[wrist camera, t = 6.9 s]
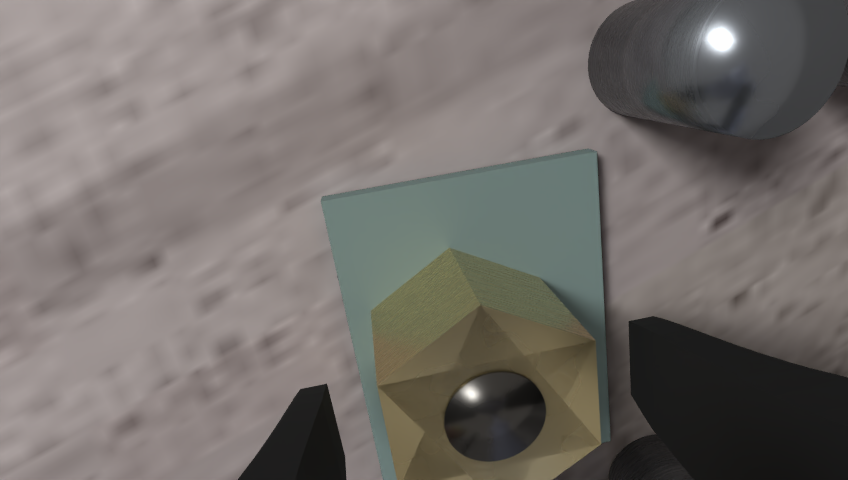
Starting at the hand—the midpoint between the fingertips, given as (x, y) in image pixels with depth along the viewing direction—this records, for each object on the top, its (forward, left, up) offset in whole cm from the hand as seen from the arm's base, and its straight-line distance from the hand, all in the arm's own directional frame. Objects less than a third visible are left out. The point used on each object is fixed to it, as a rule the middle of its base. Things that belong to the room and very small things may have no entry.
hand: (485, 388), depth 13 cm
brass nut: (0, 0, -2) cm, 2 cm away
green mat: (0, 0, -3) cm, 3 cm away
